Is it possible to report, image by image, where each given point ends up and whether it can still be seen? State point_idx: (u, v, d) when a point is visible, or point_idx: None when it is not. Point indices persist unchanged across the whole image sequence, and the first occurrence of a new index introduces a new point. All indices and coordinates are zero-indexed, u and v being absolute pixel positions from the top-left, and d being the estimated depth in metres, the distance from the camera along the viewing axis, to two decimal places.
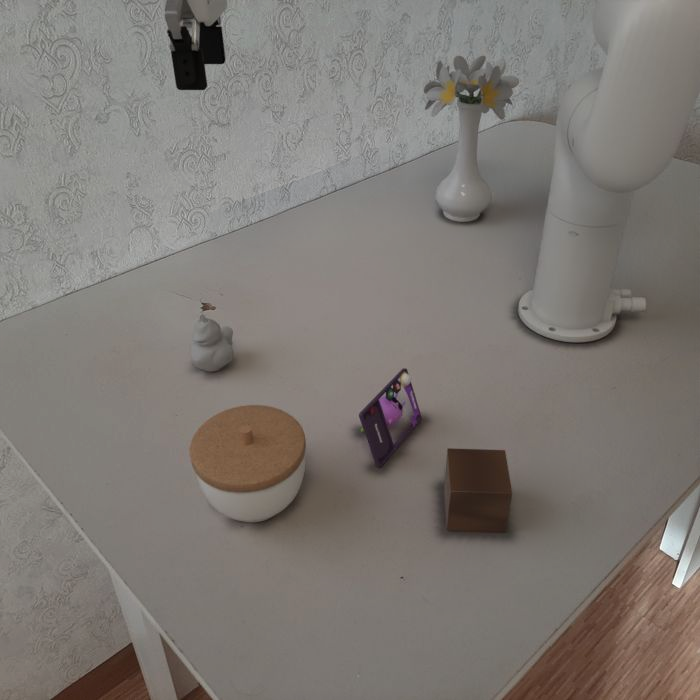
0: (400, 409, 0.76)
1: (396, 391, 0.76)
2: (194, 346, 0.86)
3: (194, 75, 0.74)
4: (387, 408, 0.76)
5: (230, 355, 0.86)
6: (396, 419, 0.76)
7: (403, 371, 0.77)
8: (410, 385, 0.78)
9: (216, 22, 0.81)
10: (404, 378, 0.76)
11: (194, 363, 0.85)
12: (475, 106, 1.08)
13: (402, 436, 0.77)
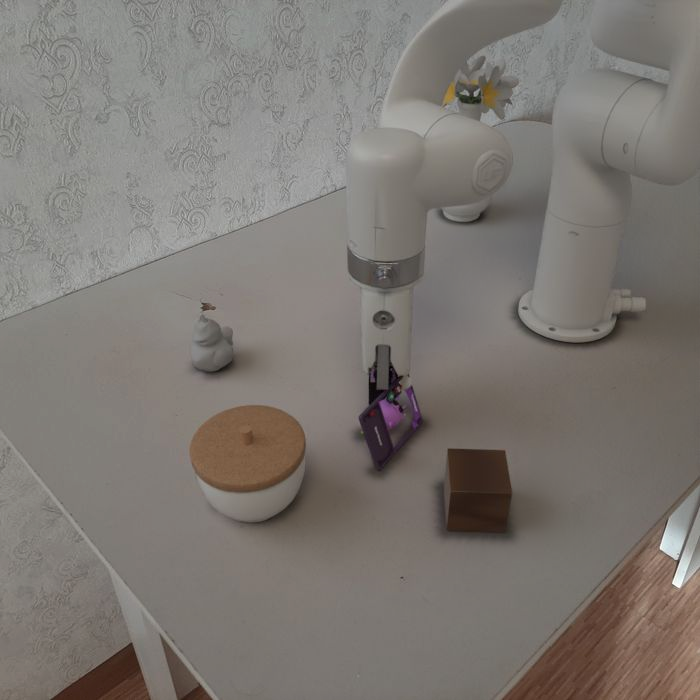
0: (401, 412, 0.76)
1: (397, 394, 0.75)
2: (194, 346, 0.86)
3: None
4: (387, 411, 0.75)
5: (230, 355, 0.86)
6: (397, 422, 0.76)
7: None
8: (411, 388, 0.77)
9: None
10: (405, 381, 0.76)
11: (194, 363, 0.85)
12: (475, 106, 1.08)
13: (402, 439, 0.77)
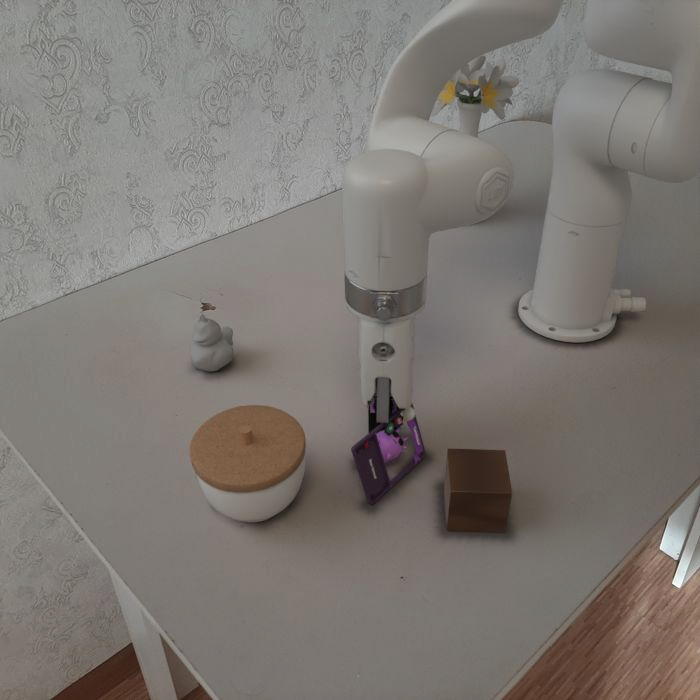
0: (400, 444, 0.72)
1: (397, 425, 0.71)
2: (194, 346, 0.86)
3: None
4: (386, 442, 0.72)
5: (230, 355, 0.86)
6: (396, 455, 0.72)
7: None
8: (415, 420, 0.73)
9: None
10: (407, 412, 0.72)
11: (194, 363, 0.85)
12: (475, 106, 1.08)
13: (401, 473, 0.73)
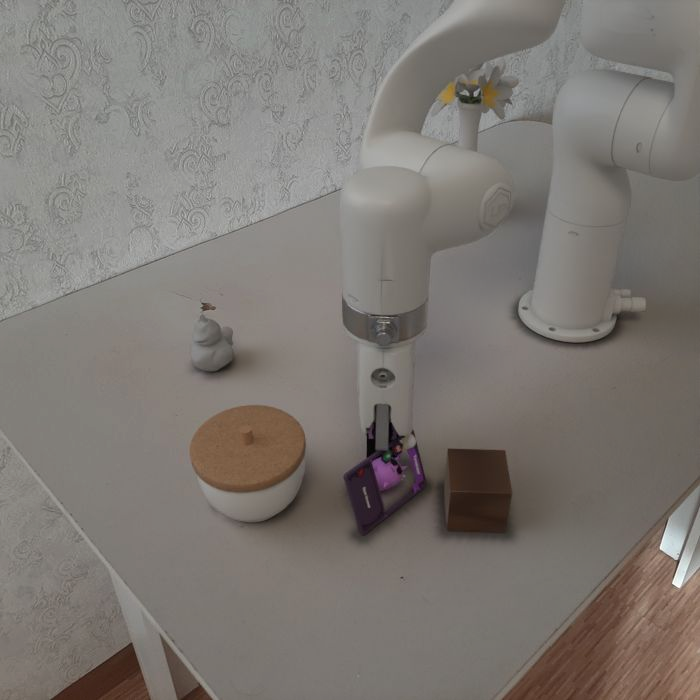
0: (398, 473, 0.69)
1: (396, 453, 0.68)
2: (194, 346, 0.86)
3: None
4: (383, 470, 0.69)
5: (230, 355, 0.86)
6: (393, 483, 0.69)
7: None
8: (416, 448, 0.70)
9: None
10: (407, 440, 0.69)
11: (194, 363, 0.85)
12: (475, 106, 1.08)
13: (398, 502, 0.70)
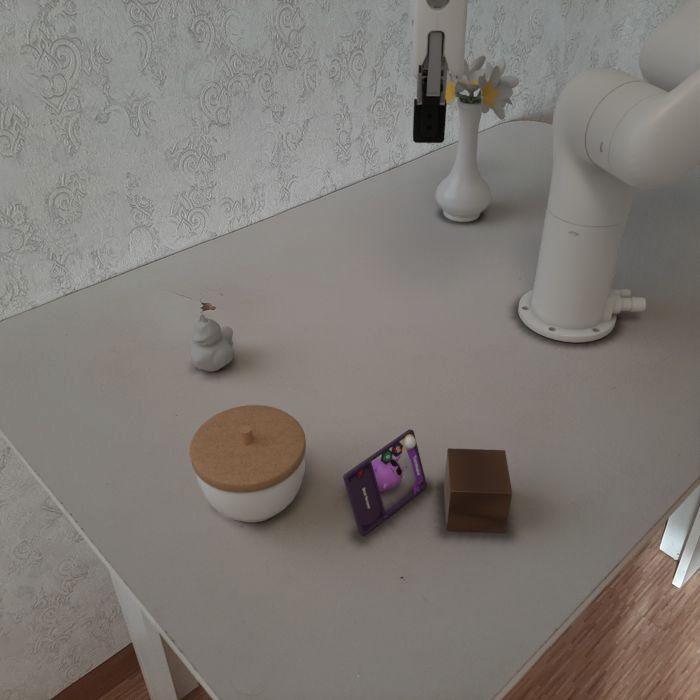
0: (398, 474, 0.69)
1: (395, 454, 0.68)
2: (194, 346, 0.86)
3: (436, 129, 0.72)
4: (383, 471, 0.68)
5: (230, 355, 0.86)
6: (393, 484, 0.69)
7: (408, 433, 0.69)
8: (415, 449, 0.70)
9: None
10: (407, 441, 0.69)
11: (194, 363, 0.85)
12: (475, 106, 1.08)
13: (398, 503, 0.70)
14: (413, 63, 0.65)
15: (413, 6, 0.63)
